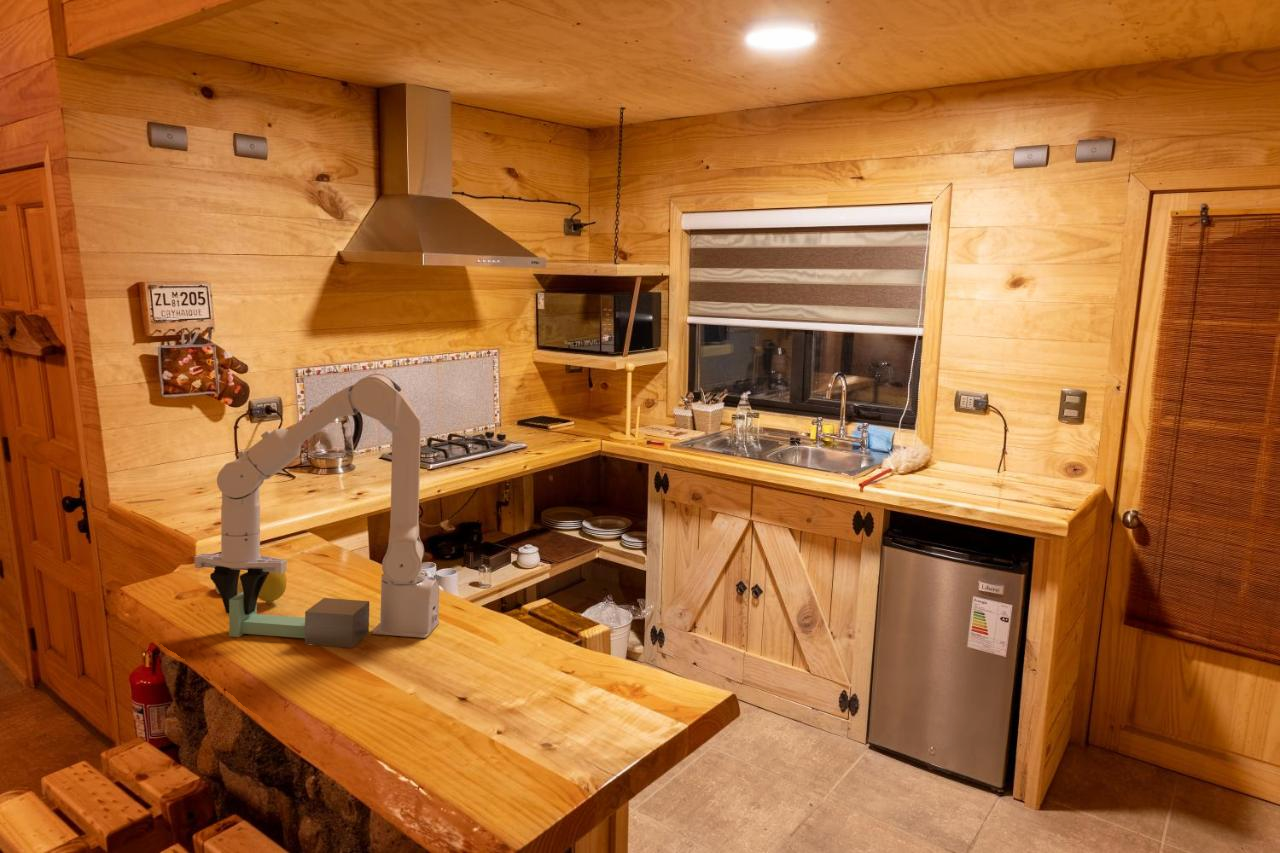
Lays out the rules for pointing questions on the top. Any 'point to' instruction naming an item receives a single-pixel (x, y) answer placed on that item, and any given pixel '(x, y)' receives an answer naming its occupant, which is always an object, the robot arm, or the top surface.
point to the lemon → (273, 587)
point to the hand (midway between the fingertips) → (240, 612)
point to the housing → (337, 622)
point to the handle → (262, 622)
